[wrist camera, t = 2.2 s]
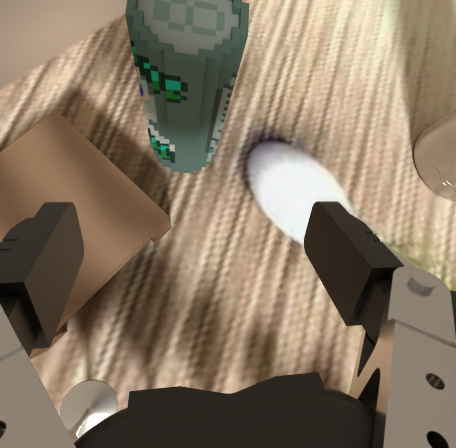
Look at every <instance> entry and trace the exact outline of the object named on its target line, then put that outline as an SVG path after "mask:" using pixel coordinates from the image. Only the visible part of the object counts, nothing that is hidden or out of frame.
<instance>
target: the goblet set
mask: <svg viewBox="0 0 456 448" xmlns="http://www.w3.org/2000/svg"><path fill="white" fill-rule="evenodd" d="M116 412H118V399H117V396H116V393H115V391H114V390H113V389H112V387H111V386H109V385H108V384H107V383H105V382H103V381H99V380H87V381H84V382H81V383H79V384H77V385H76V386H74V387H73V388H72V389H71V390H70V391H69V392H68V393H67V395H66V396H65V398H64V400H63V402H62V405H61V409H60V418H61V420H62V422H63V424H64V426H65V428H66V430H67V432H68V433H69V435H70V437H71V439H72V441H73V443H74V442H75V441H76V440H78V439H79V438H80V437H81V436H82V435H83V434H84V433H85V432H87V431H88V430H89V429H90V428H92V427H93V426H94V425H96V424H97V423H99V422H100V421H102V420H103V419H105V418H107V417H108V416H110V415H112V414H114V413H116Z"/></svg>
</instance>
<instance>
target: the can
mask: <svg viewBox="0 0 456 448" xmlns="http://www.w3.org/2000/svg"><path fill="white" fill-rule="evenodd" d="M125 15H126V21H127V26H128V31H129V36H130V41H131V46H132V51H133V56H134V61H135V66H136V71H137V76H138V81H139V86H140V92H141V97H142V102H143V107H144V112H145V117H146V122H147V127H148V132H149V137H150V142H151V147H152V149H154V153H155V157H157V158H159V162H163V166H166V167H171V171H176V172H185V173H192V172H193V169H194V170H201V168H202V167H206V163H210V161H211V157H212V156H215V153H216V149H217V145H218V142H219V138H220V135H221V131H222V127H223V124H224V120H225V116H226V113H227V109H228V106H229V102H230V98H231V95H232V91H233V87H234V84H235V80H236V77H237V73H238V69H239V66H240V62H241V58H242V55H243V51H244V48H245V44H246V40H247V37H248V19H249V3H244V2H242V0H127V7H126V13H125Z"/></svg>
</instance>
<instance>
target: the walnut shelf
mask: <svg viewBox="0 0 456 448" xmlns="http://www.w3.org/2000/svg"><path fill="white" fill-rule="evenodd" d="M45 202H73V203H74V205H75V207H76V211H77V215H78V220H79V224H80V229H81V233H82V238H83V242H84V257H83V261H82V264H81V267H80V269H79V272H78V275H77V277H76V280H75V283H74V285H73V288H72V290H71V293H70V296H69V298H68V301H67V304H66V306H65V309H64V312H63V314H62V317H61V320H60V322H59V325H58V328H57V330H56V333H55V336H54V338H53V341H52V344H51V346H50V348H51V347H52V346H53V345H54V344H55V343H56V342H57V341H58V340H59V339H60V338H61V337H62V336H63V335H64V334H65V333H66V332H67V330H65V329H64V328H63V327H62V326H63V325H64V324H65V323H66V322H67V321H68V320H69V319H70V318H71V317H72V316H73V315H74V314H75V313H76V312H77V311H78V310H79V309H80V308H81V307H82V306H83V305H84V304H85V303H86V302H87V301H88V300H89V299H90V298H91V297H92V296H93V295H94V294H95V293H96V292H97V291H98V290H99V289H100V288H101V287H102V286H103V285H104V284H105V283H106V282H108V281H109V280H110V279H111V278H112V277H113V276H114V275H115V274H116V273H117V272H118V271H119V270H120V269H121V268H122V267H123V266H124V265H125V264H126V263H127V262H128V261H129V260H130V259H131V258H132V257H133V256H134V255H135V254H136V253H137V252H138V251H139V250H140V249H141V248H142V247H143V246H144V245H145V244H146V243H147V242H148V241H149V240H150V239H151V240H152V241H153V242H154V243H156V242H157V241H158V240H159V239H160V238H161V237H162V236H163V235H164V234H165V233H166V232H167V231H168V230H169V229H170V228H171V226H170V218H169V215H168V214H166V213H165V212H164V211H163V210H162V209H161V208H160V207H159V206H158V205H157V204H156V203H155V202H154V201H153V200H152V199H150V198H149V197H148V196H147V195H146V194H145V193H144V192H143V191H142V190H141V189H140V188H139V187H138V186H137V185H136V184H134V183H133V182H132V181H131V180H130V179H129V178H128V177H127V176H126V175H125V174H124V173H123V172H122V171H121V170H120V169H118V168H117V167H116V166H115V165H114V164H113V163H112V162H111V161H110V160H109V159H108V158H107V157H106V156H105V155H103V154H102V153H101V152H100V151H99V150H98V149H97V148H96V147H95V146H94V145H93V144H92V143H91V142H90V141H89V140H87V139H86V138H85V137H84V136H83V135H82V134H81V133H80V132H79V131H78V130H77V129H76V128H75V127H74V126H73V125H71V124H70V123H69V122H68V121H67V120H66V119H65V118H64V117H63V116H62V115H61V114H60V113H59V112H58V111H57V110H55V111H54V112H53V113H51V114H50V115H49V116H48V117H46V118H45V119H44V120H42V121H41V122H40V123H38V124H37V125H36V126H34V127H33V128H32V129H30V130H29V131H28V132H26V133H25V134H24V135H22V136H21V137H20V138H18V139H17V140H16V141H15V142H13V143H12V144H11V145H9V146H8V147H7V148H5V149H4V150H3V151H1V152H0V242H2V241H3V240H2V239H3V238H4V237H5V235H6V234H7V233H8V232H9V230H10V229H11V228H12V227H13V226H15V225H17V224H18V223H20V222H21V221H23V220H24V219H26V218H34V216H35V215H36V213H37V212H38V211H39V209H40V208H41V206H42V205H43V204H44V203H45ZM50 348H39V349H33V350H32V352H31V355H30V357H29V359H32V358H34V357H36V356H38V355H40V354H42V353H44V352H46V351H48V350H49V349H50Z"/></svg>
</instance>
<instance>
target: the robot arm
mask: <svg viewBox="0 0 456 448" xmlns="http://www.w3.org/2000/svg"><path fill="white" fill-rule="evenodd" d="M414 159H415V164H416V167H417V170H418V172H419V174H420V176H421V178H422V179H423V181H424V182H425V183H426V184H427V185H428V187H429V188H430V189H432V190H433V191H434V192H435V193H437V194H438V195H440V196H442V197H444V198H447V199H451V200H456V110H454V111H453V112H451V113H449V114H448V115H446V116H445V117H443V118H442V119H440V120H438V121H437V122H435V123H434V124H432V125H431V126H429V127H428V128H426V129H425V130H423V131H422V133H421V134H420V135H419V136H418V139H417V141H416V143H415V148H414ZM2 240H3V241H2V242H0V448H456V291H450V290H449V288H448V287H447V286H446V284H445V283H444V282H443V281H441V280H440V279H439V278H437V277H436V276H434V275H433V274H431V273H429V272H427V271H424V270H422V269H419V268H415V267H405V266H404V265H403V264H402V263H401V262H400V261H399V260H398V259H397V257H396V256H395V255H394V254H393V253H392V252H391V251H390V250H389V249H388V248H387V247H386V246H385V245H384V243H383V242H380V239H379V238H378V237H377V236H376V235H375V234H373V232H372V231H371V230H370V228H369V227H368V226H367V225H366V224H365V223H364V222H362V221H360V220H359V219H357V218H356V217H354V216H352V215H350V214H349V213H348V212H347V211H346V210H345V208H344V207H343V206H342V205H341V204H340V203H339V202H315V203H314V205H313V207H312V211H311V214H310V218H309V222H308V226H307V229H306V233H305V237H304V249H305V253H306V255H307V257H308V258H309V260H310V262H311V264H312V266H313V267H314V269H315V271H316V273H317V274H318V276H319V278H320V280H321V282H322V283H323V285H324V287H325V289H326V290H327V292H328V294H329V296H330V298H331V299H332V301H333V303H334V305H335V306H336V308H337V310H338V312H339V314H340V315H341V317H342V319H343V321H344V322H345V324H346V326H354V325H362V326H363V327H364V329H365V330H364V332H363V334H362V336H361V340H360V345H359V350H358V355H357V360H356V365H355V369H354V374H353V379H352V384H351V387H350V391H349V394H345V393H343V392H340V391H337V390H334V389H330V388H326V387H324V385H323V382H322V380H321V378H320V375H319V373H318V372H315V373H305V374H295V375H285V376H276V377H273V378H271V379H268V380H266V381H263V382H261V383H258V384H256V385H253V386H251V387H248V388H246V389H243V390H241V391H238V392H236V393H232V394H225V393H219V392H212V391H206V390H200V389H193V388H187V387H181V386H178V387H168V388H158V389H149V390H139V391H130V392H129V401H128V408H126V409H123V410H120V411H118V412H116V413H114V414H112V415H110V416H108V417H107V418H105V419H103V420H102V421H100V422H99V423H97V424H96V425H94V426H93V427H92V428H90V429H89V430H88V431H87V432H85V433H84V434H83V435H82V436H81V437H80V438H79V439H78V440H76V441H75V442H74V443H73V441H72V439H71V437H70V435H69V433H68V432H67V430H66V428H65V426H64V424H63V422H62V420H61V418H60V416H59V414H58V412H57V410H56V408H55V407H54V405H53V403H52V401H51V399H50V397H49V395H48V393H47V391H46V389H45V387H44V385H43V384H42V382H41V380H40V378H39V376H38V374H37V372H36V370H35V368H34V366H33V364H32V362H31V361H30V359H29V357H30V355H31V352H32V350H33V349H39V348H50V346H51V344H52V341H53V338H54V336H55V333H56V330H57V328H58V325H59V322H60V320H61V317H62V314H63V312H64V309H65V306H66V304H67V301H68V298H69V296H70V293H71V290H72V288H73V285H74V283H75V280H76V277H77V275H78V272H79V269H80V267H81V264H82V261H83V257H84V242H83V238H82V233H81V229H80V224H79V220H78V215H77V211H76V207H75V205H74V203H73V202H45V203H44V204H43V205H42V206H41V208H40V209H39V211H38V212H37V213H36V215H35V216H34V218H26V219H24V220H23V221H21V222H20V223H18V224H17V225H15V226H13V227H12V228H11V229H10V230H9V232H8V233H7V234H6V235H5V237H4V238H3V239H2Z"/></svg>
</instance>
